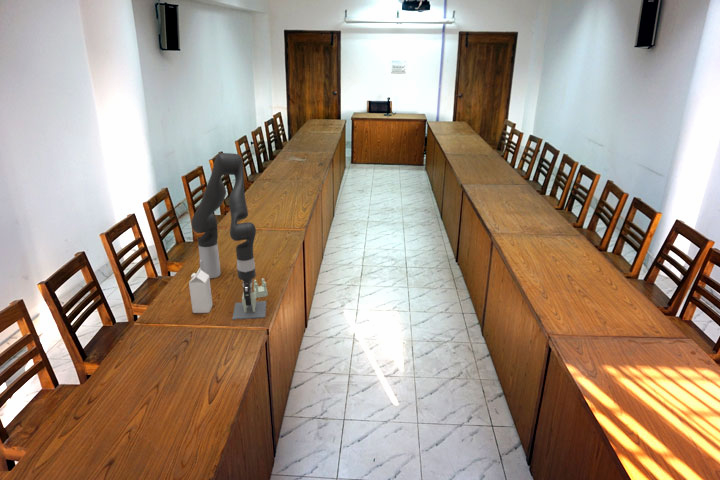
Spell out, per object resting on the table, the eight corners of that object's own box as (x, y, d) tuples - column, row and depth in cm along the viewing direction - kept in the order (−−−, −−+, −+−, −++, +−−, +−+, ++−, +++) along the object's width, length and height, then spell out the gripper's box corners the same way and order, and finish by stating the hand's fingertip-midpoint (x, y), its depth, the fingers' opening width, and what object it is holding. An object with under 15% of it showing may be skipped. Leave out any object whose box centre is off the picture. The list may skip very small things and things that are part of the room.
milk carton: (212, 305, 231) (208, 267, 223) (209, 313, 224) (204, 274, 217) (197, 305, 230) (191, 267, 223) (192, 313, 224) (187, 274, 217)
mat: (232, 319, 219) (232, 318, 219) (235, 303, 232) (235, 302, 231) (265, 317, 221) (265, 316, 220) (266, 302, 233) (266, 300, 233)
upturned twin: (256, 298, 237) (255, 284, 234) (253, 293, 242) (252, 279, 239) (267, 296, 239) (266, 282, 236) (265, 290, 244) (264, 277, 241)
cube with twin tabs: (243, 312, 223) (241, 298, 220) (244, 306, 228) (242, 293, 226) (256, 312, 224) (254, 298, 221) (256, 305, 229) (255, 292, 226)
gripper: (238, 260, 224) (241, 294, 230) (235, 275, 211) (239, 310, 217) (255, 259, 225) (258, 293, 231) (253, 274, 212) (256, 309, 218)
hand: (249, 301), depth 224 cm, fingers open, 6 cm apart
